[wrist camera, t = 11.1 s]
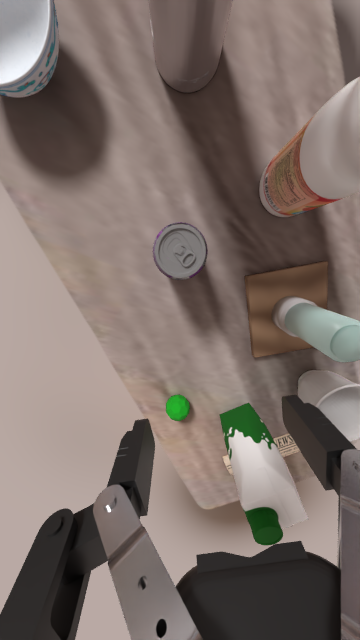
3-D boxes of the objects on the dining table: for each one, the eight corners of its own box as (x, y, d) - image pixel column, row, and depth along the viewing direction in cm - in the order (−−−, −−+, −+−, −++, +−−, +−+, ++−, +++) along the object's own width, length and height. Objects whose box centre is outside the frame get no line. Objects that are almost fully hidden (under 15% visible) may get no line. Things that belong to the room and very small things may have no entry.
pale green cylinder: (283, 306, 34) (331, 327, 23) (317, 299, 33) (380, 318, 23) (285, 336, 35) (330, 369, 25) (317, 330, 35) (376, 361, 25)
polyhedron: (169, 411, 46) (168, 428, 41) (163, 393, 45) (162, 408, 40) (191, 406, 46) (192, 423, 41) (186, 388, 44) (187, 403, 40)
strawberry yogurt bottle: (280, 138, 32) (867, -530, 5) (327, 174, 33) (977, -185, 6) (245, 199, 34) (507, -22, 7) (290, 229, 35) (648, 142, 9)
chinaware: (9, 142, 31) (-43, 106, 24) (-54, 10, 27) (-141, -83, 20) (99, 103, 30) (74, 54, 23) (49, -40, 26) (-2, -159, 18)
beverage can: (207, 252, 36) (222, 250, 25) (180, 282, 38) (181, 293, 26) (178, 222, 35) (178, 205, 23) (150, 254, 36) (138, 253, 25)
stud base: (244, 276, 37) (255, 279, 32) (322, 261, 37) (346, 262, 32) (251, 354, 42) (262, 368, 37) (320, 342, 42) (341, 354, 36)
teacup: (262, 398, 45) (285, 436, 36) (309, 346, 42) (349, 372, 32) (302, 422, 47) (334, 463, 38) (351, 374, 44) (399, 406, 34)
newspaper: (230, 470, 52) (231, 477, 51) (220, 451, 50) (221, 457, 49) (321, 438, 50) (326, 445, 48) (314, 417, 48) (319, 423, 46)
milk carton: (214, 413, 46) (240, 522, 27) (251, 397, 45) (306, 500, 26) (229, 440, 49) (263, 558, 30) (265, 425, 48) (324, 539, 28)
